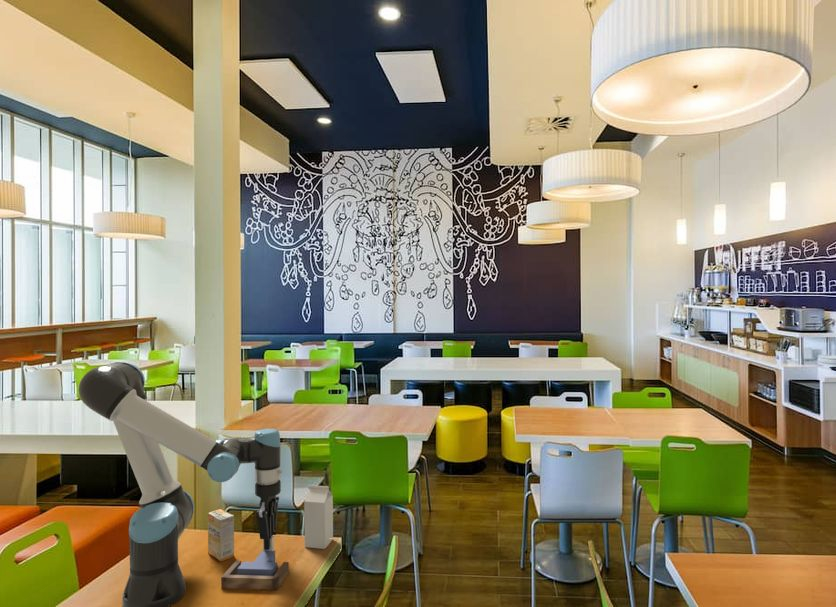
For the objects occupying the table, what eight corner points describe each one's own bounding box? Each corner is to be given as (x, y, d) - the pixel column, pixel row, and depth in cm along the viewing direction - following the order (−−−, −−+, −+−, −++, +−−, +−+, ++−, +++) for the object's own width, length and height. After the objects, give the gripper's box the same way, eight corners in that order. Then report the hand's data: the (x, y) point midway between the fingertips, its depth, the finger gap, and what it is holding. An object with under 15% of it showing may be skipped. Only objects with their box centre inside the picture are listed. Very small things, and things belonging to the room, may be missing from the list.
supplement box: (207, 554, 162) (206, 512, 162) (221, 548, 166) (221, 508, 166) (220, 562, 157) (219, 519, 157) (234, 556, 161) (234, 514, 161)
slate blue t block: (252, 563, 156) (252, 550, 156) (285, 564, 155) (284, 551, 155) (237, 582, 145) (237, 568, 145) (272, 583, 144) (271, 569, 144)
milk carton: (325, 549, 165) (324, 490, 165) (304, 547, 166) (304, 489, 166) (333, 539, 171) (332, 482, 172) (313, 537, 173) (312, 481, 173)
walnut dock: (221, 588, 142) (221, 577, 142) (236, 570, 152) (236, 560, 152) (277, 590, 141) (277, 579, 141) (288, 572, 151) (288, 561, 151)
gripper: (272, 488, 150) (272, 569, 150) (286, 474, 163) (287, 548, 163) (247, 488, 150) (248, 568, 150) (263, 473, 163) (264, 547, 163)
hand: (268, 558), depth 156 cm, fingers closed
